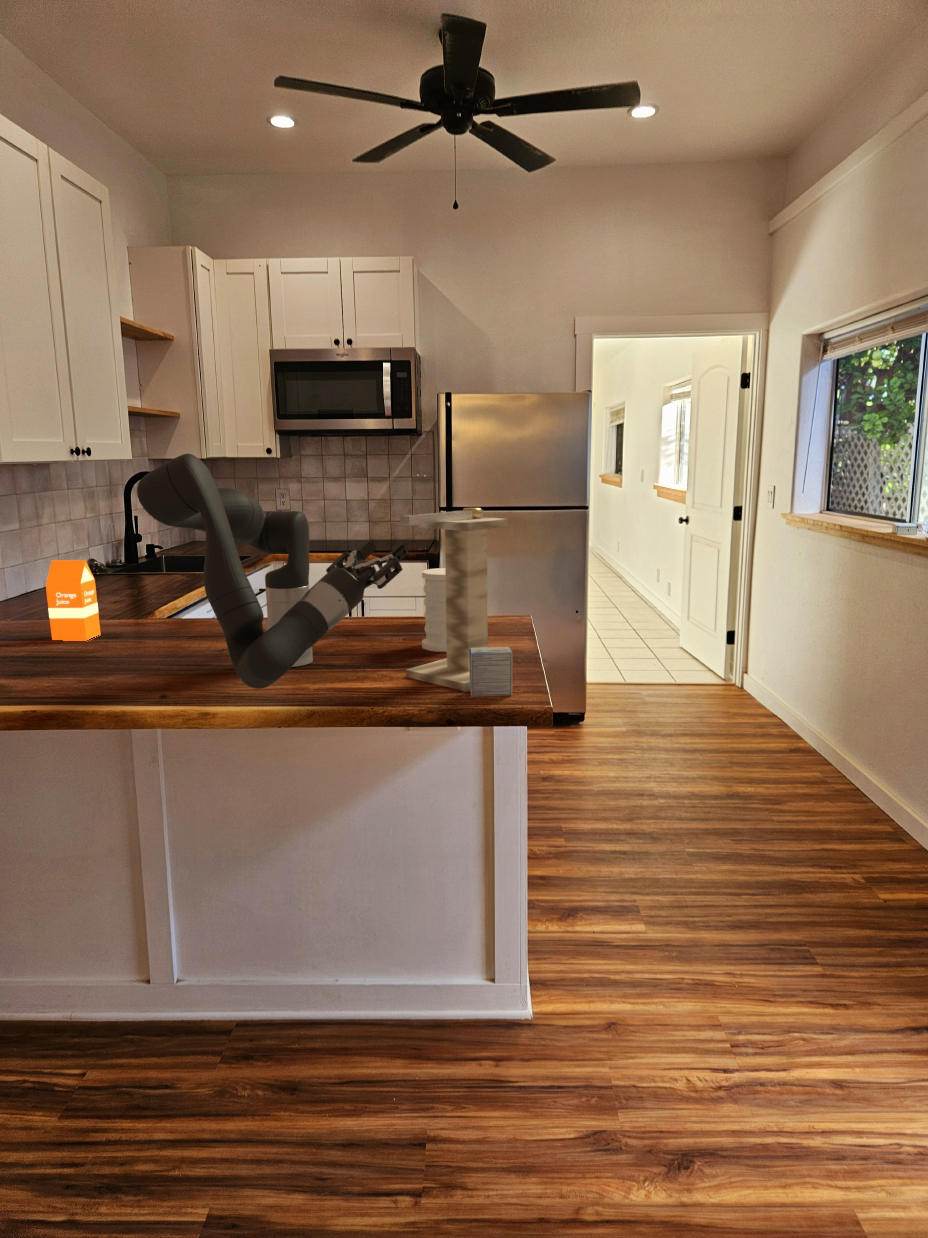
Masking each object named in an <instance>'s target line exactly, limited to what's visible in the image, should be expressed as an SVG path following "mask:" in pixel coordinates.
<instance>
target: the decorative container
mask: <svg viewBox="0 0 928 1238" xmlns="http://www.w3.org/2000/svg"><path fill="white" fill-rule="evenodd" d="M421 578H422V579H424V585H423V592H424V594H425V596H424V597H425V598H424V600H423V605H424V606H425V611H424V615H423V616H424V619H425V625H424V632H425V635H426V636H425V638H423V639H422V640H421V648H422V649H424V650H426V651H429V652H438V653H439V652H440V653H447V634H446V572H445V567H440V568H437V567H436V568H428V569H425V570H421Z"/></svg>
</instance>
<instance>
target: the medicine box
mask: <svg viewBox="0 0 928 1238" xmlns="http://www.w3.org/2000/svg"><path fill="white" fill-rule="evenodd" d="M469 667H470V689H469V690H470V691H469V692H470V697H471V698H474V697H475V698H477V697H502V696H504V697H505V696H513V651H512V650H511V648H510V647H509V646H488V647H480V648H470V649H469Z"/></svg>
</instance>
